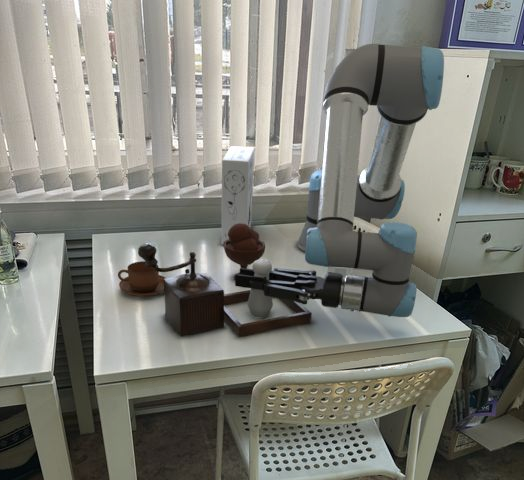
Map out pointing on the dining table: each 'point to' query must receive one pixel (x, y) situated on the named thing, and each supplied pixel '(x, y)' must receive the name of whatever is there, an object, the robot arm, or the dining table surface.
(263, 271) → the salt shaker
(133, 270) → the cup and saucer
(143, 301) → the dining table surface
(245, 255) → the ice cream bowl
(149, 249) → the manual coffee grinder
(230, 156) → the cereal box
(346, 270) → the cup
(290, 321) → the tray
